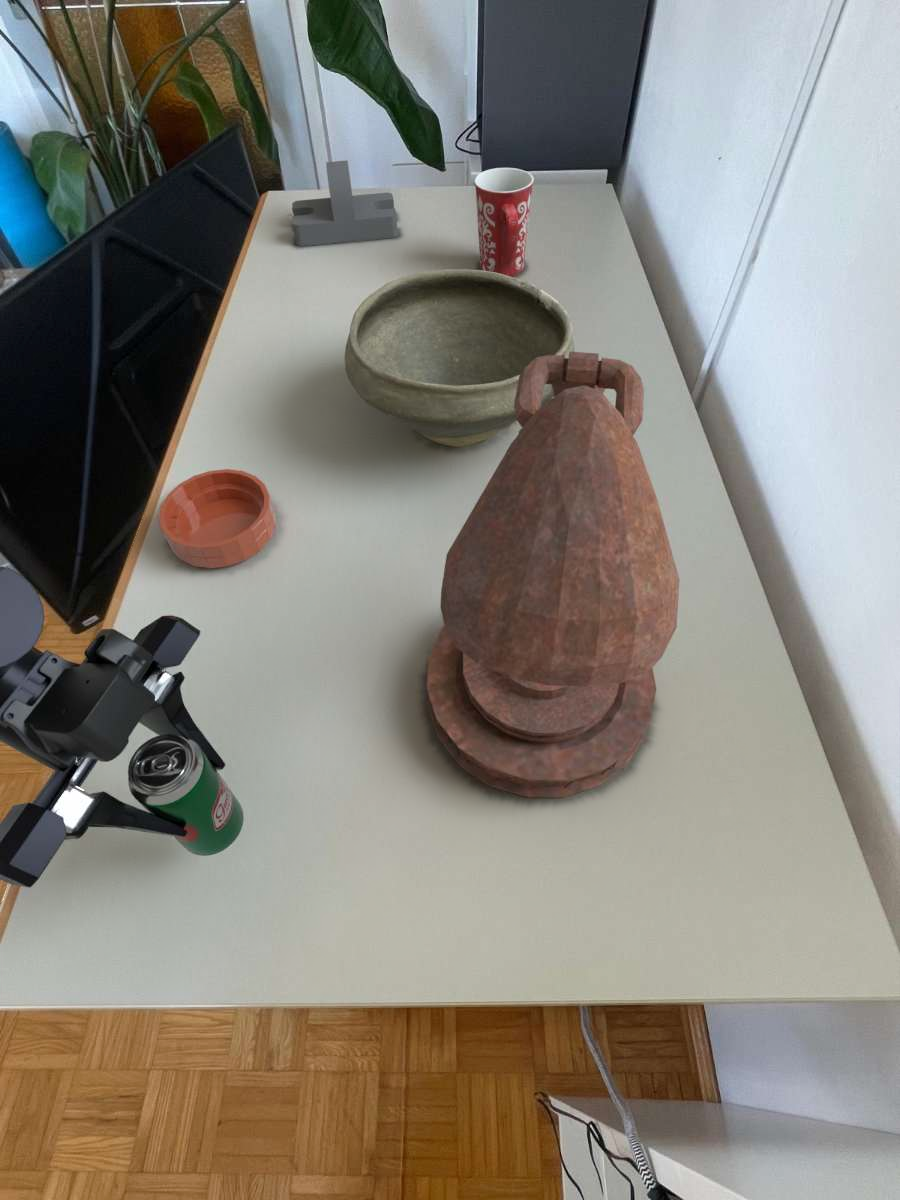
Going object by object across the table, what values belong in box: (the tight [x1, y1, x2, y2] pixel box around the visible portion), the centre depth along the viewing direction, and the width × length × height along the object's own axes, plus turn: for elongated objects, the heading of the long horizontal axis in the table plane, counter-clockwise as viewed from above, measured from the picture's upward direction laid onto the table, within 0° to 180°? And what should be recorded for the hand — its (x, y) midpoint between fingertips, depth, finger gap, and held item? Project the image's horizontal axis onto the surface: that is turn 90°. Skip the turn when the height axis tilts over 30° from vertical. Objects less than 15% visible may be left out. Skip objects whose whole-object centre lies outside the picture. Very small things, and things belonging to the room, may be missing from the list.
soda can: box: [127, 734, 245, 857], centre depth 51 cm, size 5×5×12 cm
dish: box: [157, 468, 277, 569], centre depth 79 cm, size 12×12×4 cm
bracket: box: [291, 160, 399, 247], centre depth 121 cm, size 10×18×11 cm, turn 98°
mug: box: [473, 167, 535, 277], centre depth 109 cm, size 13×9×14 cm
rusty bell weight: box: [426, 351, 680, 798], centre depth 50 cm, size 21×32×40 cm, turn 170°
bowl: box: [344, 268, 576, 448], centre depth 87 cm, size 28×28×14 cm
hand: (203, 800), depth 50 cm, fingers closed on soda can, 5 cm apart
